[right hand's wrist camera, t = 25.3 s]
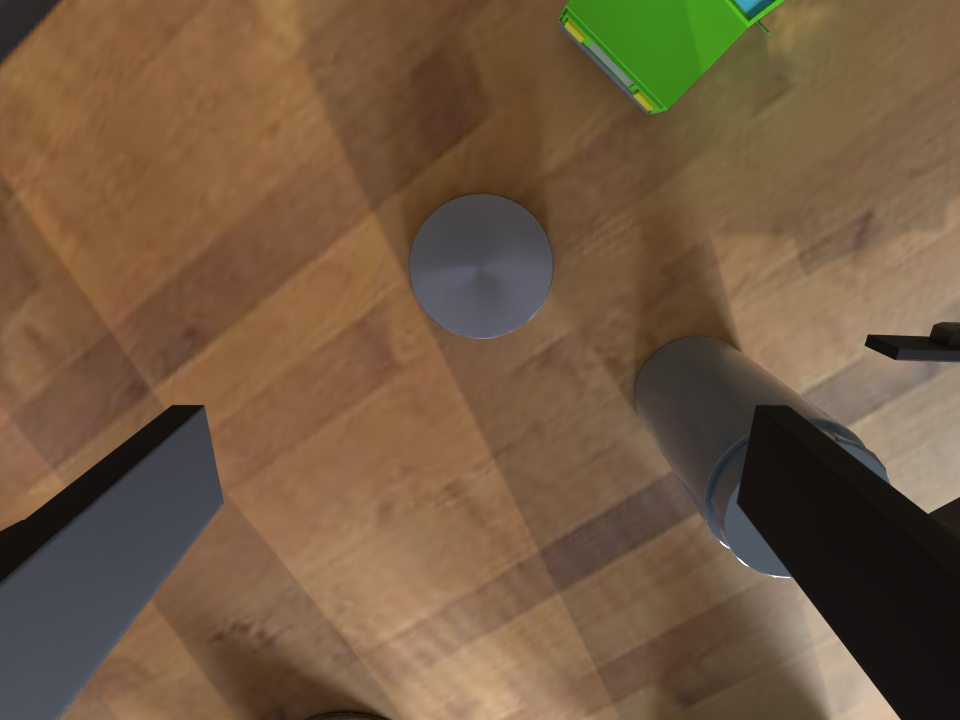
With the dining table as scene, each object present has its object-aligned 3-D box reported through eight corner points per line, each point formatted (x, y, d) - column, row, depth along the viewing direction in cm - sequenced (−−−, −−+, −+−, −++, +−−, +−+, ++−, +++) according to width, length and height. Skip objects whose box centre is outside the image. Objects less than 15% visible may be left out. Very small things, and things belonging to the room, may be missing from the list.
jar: (717, 453, 42) (839, 600, 28) (615, 424, 41) (687, 560, 27) (770, 354, 39) (935, 462, 25) (661, 321, 38) (769, 412, 24)
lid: (453, 164, 35) (452, 164, 33) (576, 238, 36) (581, 242, 35) (388, 289, 38) (384, 296, 36) (505, 353, 39) (506, 362, 37)
